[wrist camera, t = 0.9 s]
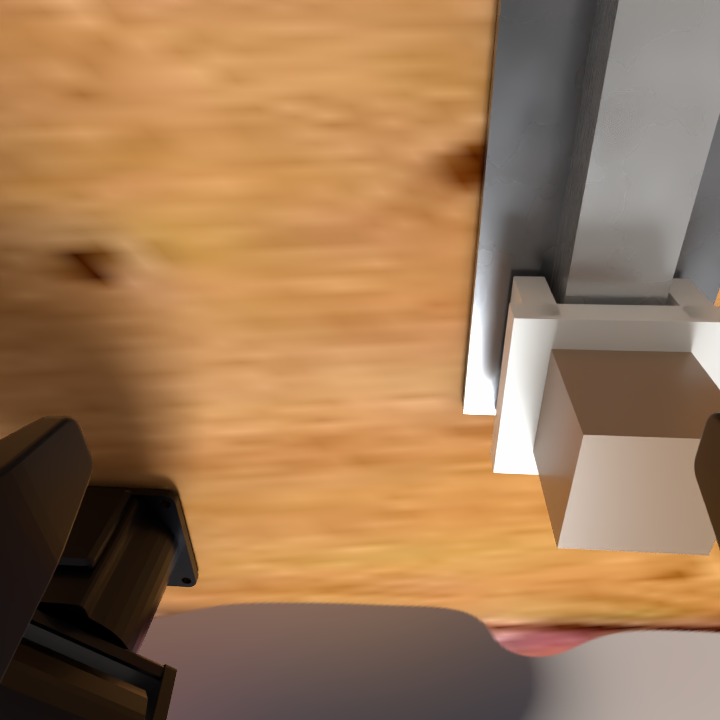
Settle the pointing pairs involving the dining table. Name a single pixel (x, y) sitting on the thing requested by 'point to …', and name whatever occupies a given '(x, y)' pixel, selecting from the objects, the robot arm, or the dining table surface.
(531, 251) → the rail
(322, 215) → the dining table surface
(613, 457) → the carriage
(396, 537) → the dining table surface
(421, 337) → the dining table surface
